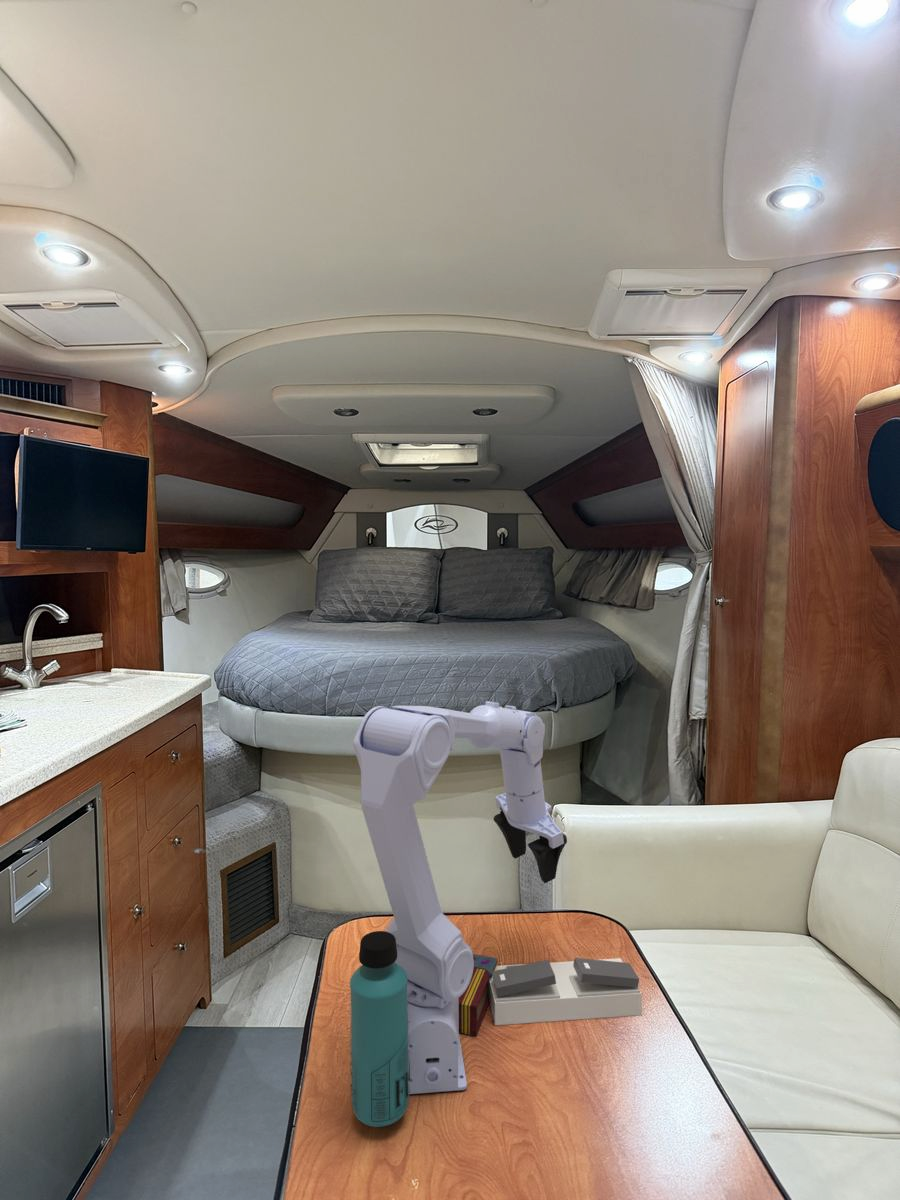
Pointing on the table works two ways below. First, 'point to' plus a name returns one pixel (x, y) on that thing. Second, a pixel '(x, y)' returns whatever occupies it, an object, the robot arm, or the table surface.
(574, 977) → the base
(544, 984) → the rocker inboard
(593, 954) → the table surface
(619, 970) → the rocker outer
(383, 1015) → the beverage bottle
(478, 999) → the decorative book
